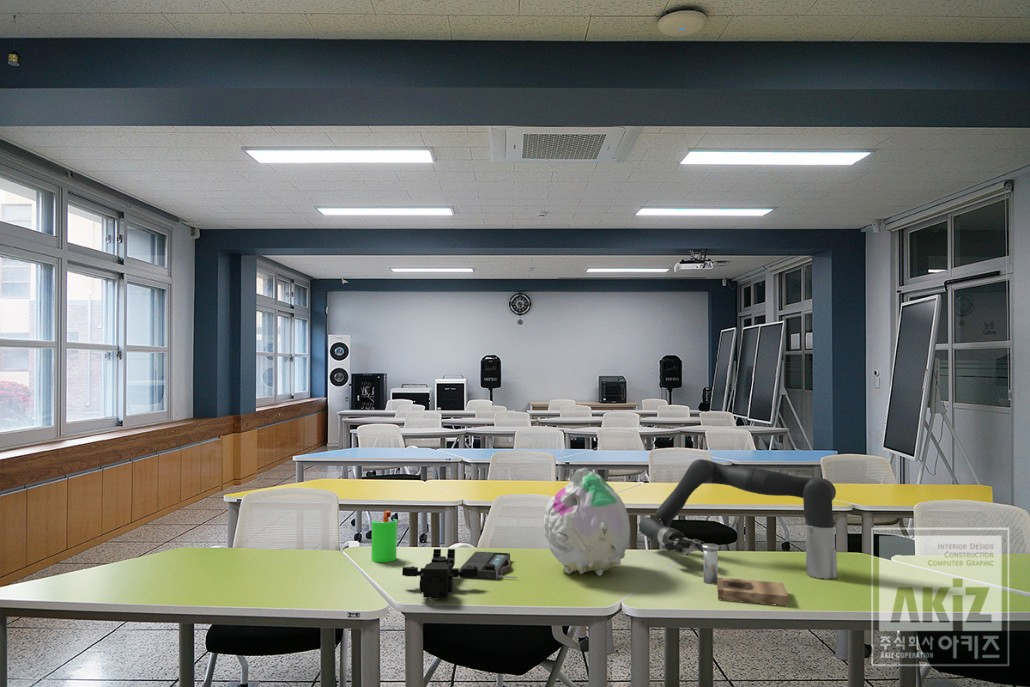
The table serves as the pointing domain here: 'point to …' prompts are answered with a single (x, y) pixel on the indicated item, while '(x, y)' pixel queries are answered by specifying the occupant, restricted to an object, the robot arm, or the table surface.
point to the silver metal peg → (710, 562)
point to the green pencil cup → (384, 539)
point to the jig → (752, 591)
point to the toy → (439, 575)
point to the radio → (489, 565)
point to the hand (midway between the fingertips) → (693, 549)
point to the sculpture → (587, 524)
